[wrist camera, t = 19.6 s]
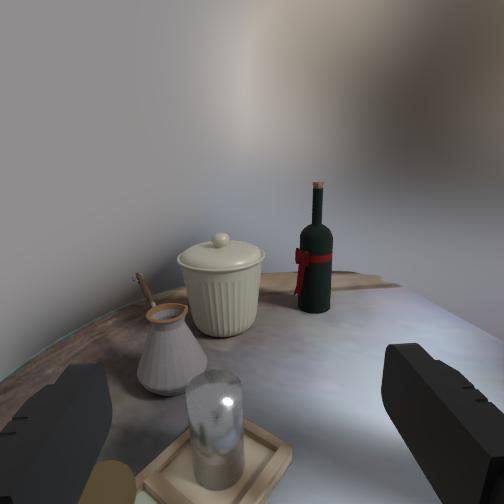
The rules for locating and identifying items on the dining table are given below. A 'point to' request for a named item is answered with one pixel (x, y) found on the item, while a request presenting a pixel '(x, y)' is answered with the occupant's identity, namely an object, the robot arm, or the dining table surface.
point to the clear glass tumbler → (216, 428)
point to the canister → (222, 284)
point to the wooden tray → (202, 500)
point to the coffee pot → (168, 349)
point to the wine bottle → (315, 260)
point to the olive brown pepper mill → (110, 484)
